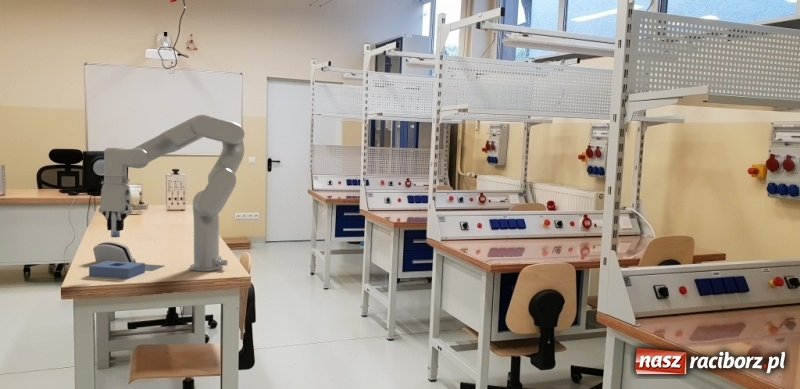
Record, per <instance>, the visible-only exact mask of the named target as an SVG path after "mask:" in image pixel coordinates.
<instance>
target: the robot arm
mask: <svg viewBox="0 0 800 389" xmlns="http://www.w3.org/2000/svg"><path fill="white" fill-rule="evenodd" d="M202 138H206V139H210V140H214V141H216V142H221V143H222V148H221V149H222V150H221V152H220V155H219V156H218V159H217V160H216V162H215V163H214V166H213V167H212V169H211V170H210V172H209V173H208V175H207V176H208V177H207V182H208V183H207V184H206V187H205V188H204V189H203V190H200V191H198V192H197V193H196V194H195V195H194V197H193V200H192V212H193V213H192V214H193V263H192V264H190V266H189V269H190V270H191V271H194V272H214V271H219V270H221V269H223V267H224V266H225V267H226V266H228V264H229V263H228V262H229V261H228V260H227V259H223V258H222V256H221V255H220V253H219V252H220V249H219V248H220V234H219V233H220V227H219V226H220V221H219V220H220V218H219V217H220V216H219V214H220V213H221V212H222V210H223V209H224V207H225V206H226V203H227V202H228V200H229V198H230V196H231V195H232V193H233V191H234V189H235V187H236V184H237V176H236V173H237V171H238V169H239V167H240V165H241V164H242V160H243V158H244V154H245V145H244V138H245V130H244V127H243V126H242V125H240V123H237V122H234V121H229V120H226V119H222V118H217V117H214V116H210V115H208V114H199V115H196V116H195V115H194V116H192V117H191V118H189V119H187V120H185V121H183V122H181V123H179V124H177V125H175V126H173V127H171V128H169V129H167V130H165V131H163V132H161V133H160V134H158V135H156V136H155V137H153V138H151V139H149V140H147V141H145V142H143V143H141V144H139V145H137V146H135V147H133V148H126V149H125V148H123V147H106V149H105V150H104V152H103V155H104V156H103V159H104V160H103V164H104V165H103V166H104V167H103V168H104V169H103V175H104V176H103V178H104V179H103V181H104V182H103V184H102V186H101V190H100V191H101V192H100V202H99V203H100V205H99V206H100V207H99V208H98V212H99V213H100V214H101V215H103V217H104V218H105V220H106V228H107V230H106V231H111V212H117V214H118V220H117V221H116V230H117V231H120V232H122V231H124V229H125V228H124V227H125V226H124V225H125V221H124V220H126V218H127V217H129V215H131V214H133V210H132V208H133V207H132V193H131V188H130V185H129V184H128V183H129V182H130V178H128V177H127V176H128V175H127V174H128V173H127V172H128V169H127V168H133V169H143V168H146V167H147V166H148V164H149V163H150V162H152V161H154V160H156V159H158V158H160V157H162V156H164V155H168V154H171V153H174V152H175V153H176V152H177V151H180V150H181V149H184V148H186V147H187V146H189V145H191V144H193V143H195V142H196V141H199V140H201V139H202Z"/></svg>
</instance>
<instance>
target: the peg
mask: <svg viewBox="0 0 800 389" xmlns="http://www.w3.org/2000/svg"><path fill="white" fill-rule="evenodd" d="M117 220H118V214H117V212H111V230H110V238H120V237H121V233H120V232H121V231H117V230H116V221H117Z"/></svg>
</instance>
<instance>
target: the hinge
mask: <svg viewBox="0 0 800 389" xmlns="http://www.w3.org/2000/svg"><path fill="white" fill-rule="evenodd" d="M92 251H93V255H94V259H95V262H97V263H101V262H104V261H119V262H135V263H137V261H136V258H133V256H132V253H131V251H130V248H129V247H128V246H127V245H125V244H123V243H120V242H119V243H118V242H116V241H104V242H101V243H98V244H97V245H95V246H94V247H93V249H92Z"/></svg>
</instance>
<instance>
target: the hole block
mask: <svg viewBox="0 0 800 389" xmlns="http://www.w3.org/2000/svg"><path fill="white" fill-rule="evenodd" d="M145 264H146V263H145V262H119V261H104V262H97V263H95V264H92V265H89V266H88V275H89V276H88V277H96V278H97V277H99V278H112V279H115V278H116V279H126V280H127V279H128V280H129V279H131V278H135V277H137V276H139V275H142V274H145V273H146V271H145Z"/></svg>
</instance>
